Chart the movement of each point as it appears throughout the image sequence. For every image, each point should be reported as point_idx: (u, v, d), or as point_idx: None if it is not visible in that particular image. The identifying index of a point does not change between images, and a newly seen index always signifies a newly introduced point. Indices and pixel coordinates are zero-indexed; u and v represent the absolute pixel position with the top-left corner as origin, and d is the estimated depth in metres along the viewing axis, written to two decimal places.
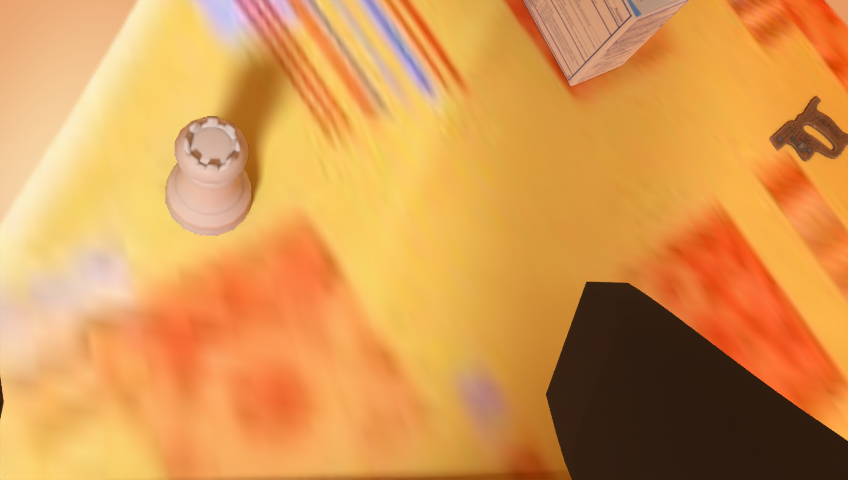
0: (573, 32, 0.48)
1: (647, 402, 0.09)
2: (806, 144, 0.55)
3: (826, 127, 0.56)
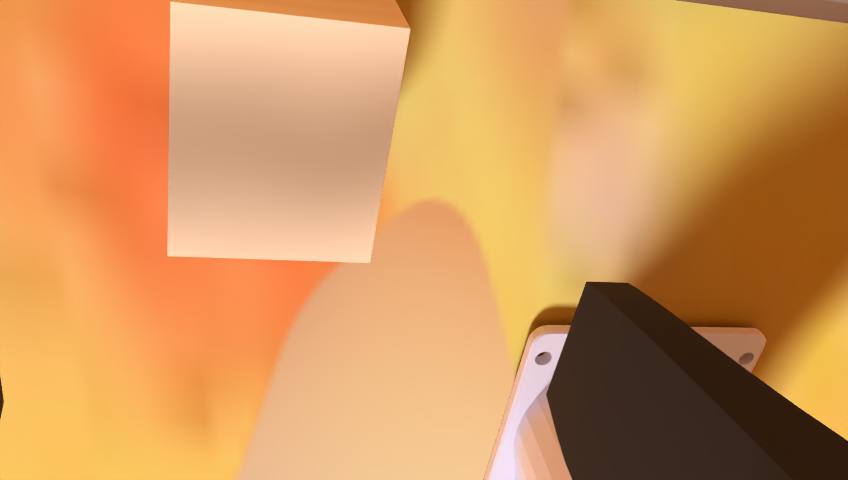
0: None
1: (647, 402, 0.09)
2: None
3: None
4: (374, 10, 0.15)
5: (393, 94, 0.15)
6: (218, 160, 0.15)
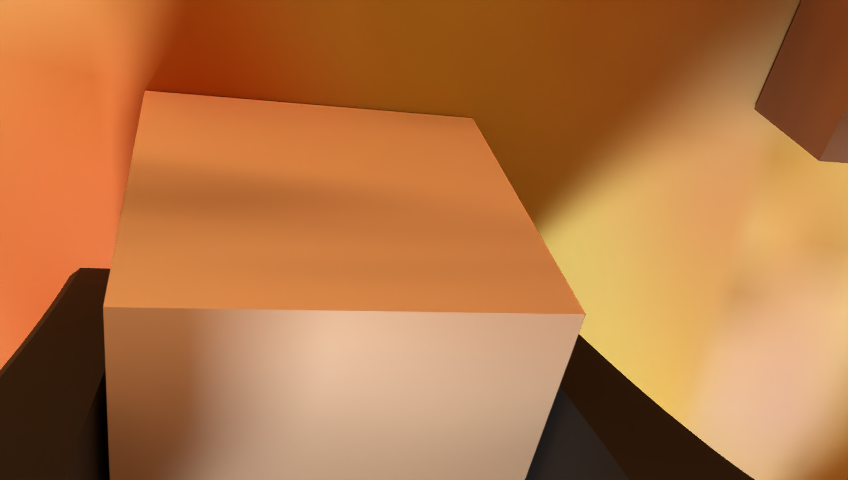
0: None
1: None
2: None
3: None
4: (504, 258, 0.08)
5: (539, 415, 0.08)
6: None
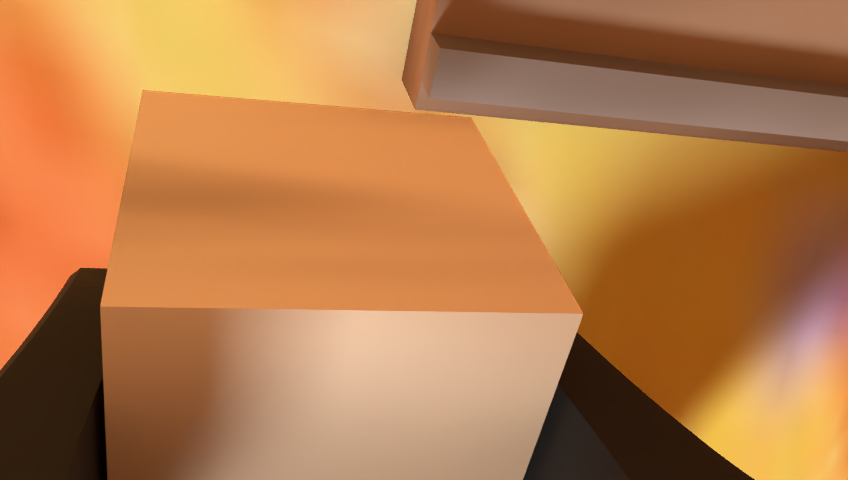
0: None
1: None
2: None
3: None
4: (502, 257, 0.08)
5: (536, 415, 0.08)
6: None
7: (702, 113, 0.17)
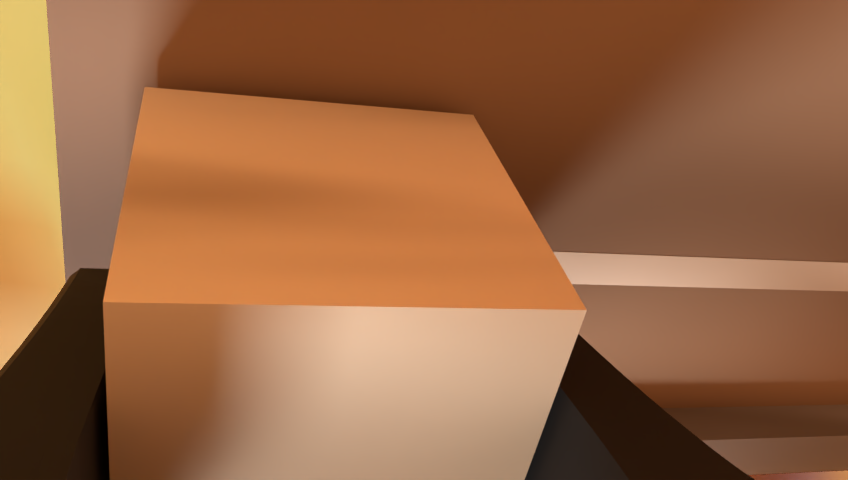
0: None
1: None
2: None
3: None
4: (506, 255, 0.08)
5: (540, 411, 0.08)
6: None
7: None
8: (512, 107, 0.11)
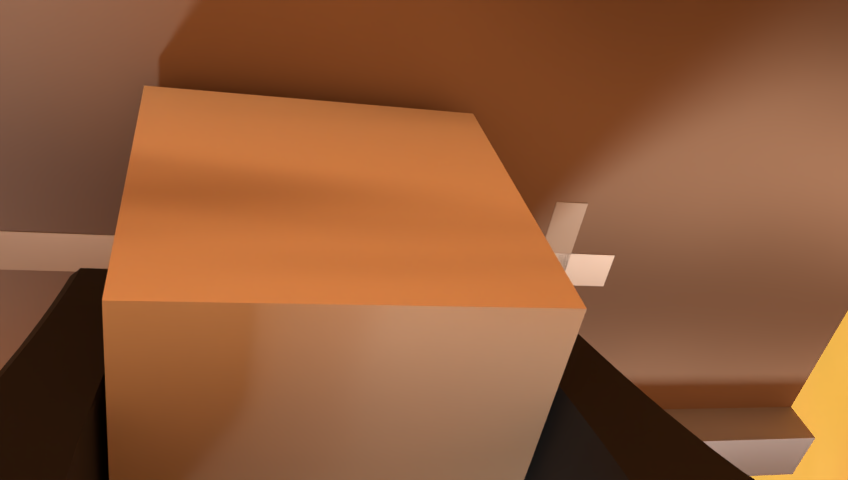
0: None
1: None
2: None
3: None
4: (505, 254, 0.08)
5: (539, 410, 0.08)
6: None
7: None
8: None
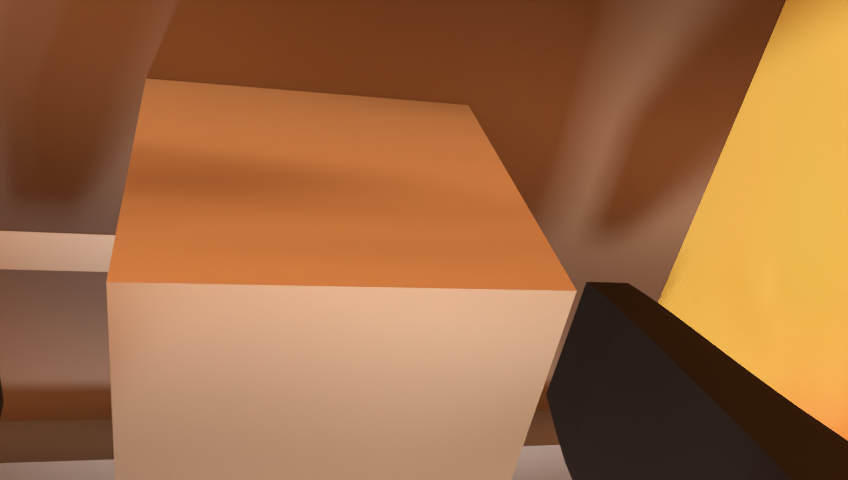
0: None
1: (647, 402, 0.09)
2: None
3: None
4: (499, 238, 0.08)
5: (532, 390, 0.08)
6: None
7: None
8: None
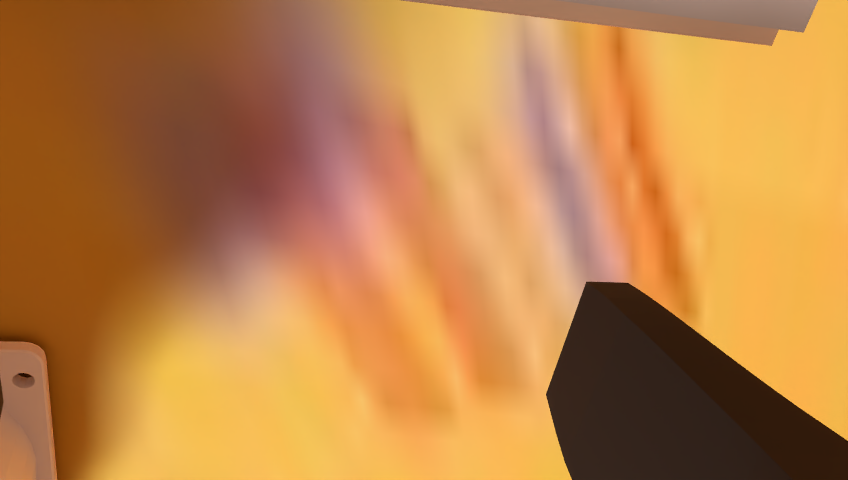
0: None
1: (646, 402, 0.09)
2: None
3: None
4: None
5: None
6: None
7: None
8: None
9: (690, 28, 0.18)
